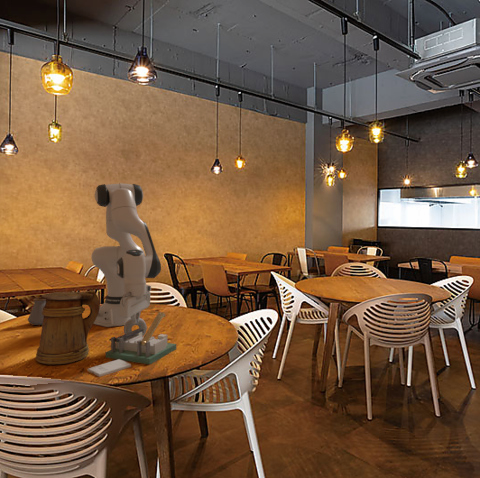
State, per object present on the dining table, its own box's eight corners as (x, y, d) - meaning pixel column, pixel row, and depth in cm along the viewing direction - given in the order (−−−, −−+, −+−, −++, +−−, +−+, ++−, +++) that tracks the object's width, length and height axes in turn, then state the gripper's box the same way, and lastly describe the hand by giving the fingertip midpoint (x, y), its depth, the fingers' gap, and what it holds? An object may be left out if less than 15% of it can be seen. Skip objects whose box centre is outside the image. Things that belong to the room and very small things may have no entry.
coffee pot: (30, 328, 197) (29, 297, 196) (26, 323, 206) (25, 293, 206) (76, 321, 210) (75, 292, 209) (70, 317, 219) (70, 289, 218)
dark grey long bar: (113, 343, 157) (113, 338, 157) (138, 332, 172) (138, 327, 172) (118, 344, 156) (118, 339, 156) (143, 333, 171) (143, 328, 171)
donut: (124, 342, 176) (124, 319, 175) (123, 340, 179) (122, 317, 178) (147, 339, 180) (147, 317, 180) (145, 337, 183) (145, 315, 183)
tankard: (31, 355, 159) (29, 292, 157) (92, 344, 173) (91, 285, 171) (41, 369, 144) (40, 299, 143) (107, 356, 159) (106, 292, 157)
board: (105, 357, 157) (105, 338, 157) (135, 343, 175) (135, 325, 174) (149, 364, 150) (149, 344, 149) (176, 348, 167) (176, 330, 167)
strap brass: (141, 346, 153) (139, 343, 152) (160, 314, 165) (158, 311, 164) (146, 347, 152) (144, 344, 151) (165, 315, 164) (163, 311, 163)
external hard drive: (131, 368, 147) (99, 378, 138) (118, 363, 153) (87, 372, 144) (131, 364, 147) (99, 373, 138) (118, 358, 153) (87, 367, 143)
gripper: (129, 295, 156) (130, 331, 157) (152, 285, 176) (153, 317, 177) (114, 294, 158) (115, 329, 159) (139, 284, 177) (139, 316, 179)
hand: (135, 323), depth 168 cm, fingers closed
